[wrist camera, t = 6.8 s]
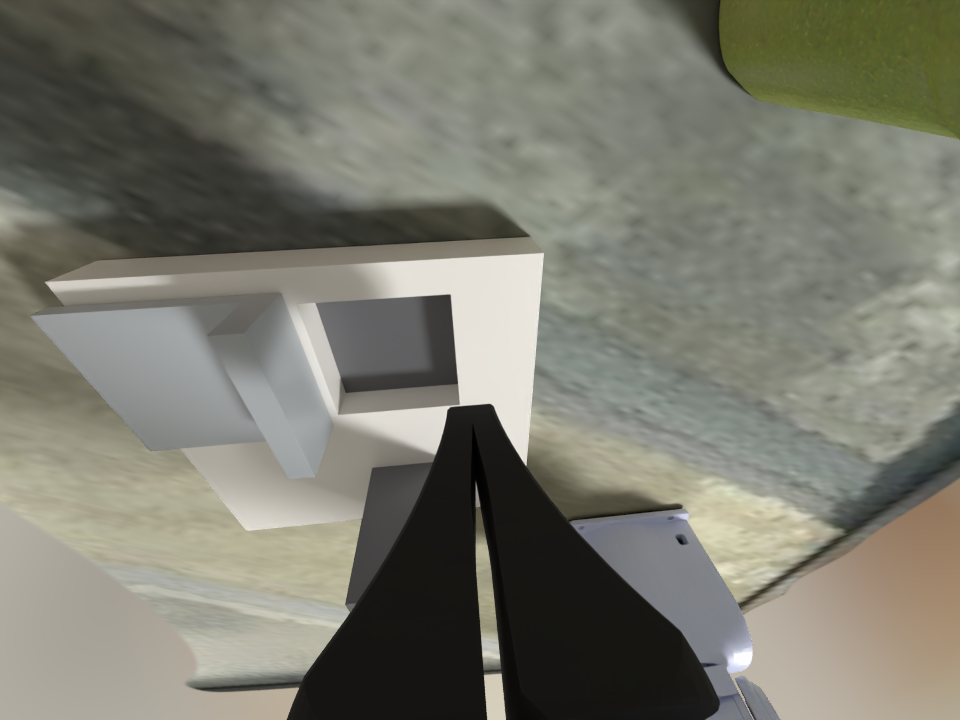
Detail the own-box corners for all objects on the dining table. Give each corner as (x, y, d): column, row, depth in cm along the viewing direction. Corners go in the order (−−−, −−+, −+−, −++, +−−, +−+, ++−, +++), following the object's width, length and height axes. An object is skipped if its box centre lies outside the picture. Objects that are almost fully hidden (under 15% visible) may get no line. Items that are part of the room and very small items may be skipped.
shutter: (281, 292, 12) (243, 333, 9) (333, 425, 15) (315, 476, 13) (47, 307, 11) (-50, 353, 9) (159, 440, 15) (110, 496, 13)
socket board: (531, 236, 13) (543, 253, 12) (517, 474, 22) (523, 502, 20) (97, 260, 12) (44, 282, 11) (261, 499, 21) (246, 531, 19)
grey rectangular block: (450, 460, 18) (455, 600, 12) (456, 504, 20) (461, 638, 15) (372, 467, 17) (343, 614, 12) (386, 511, 20) (367, 649, 15)
